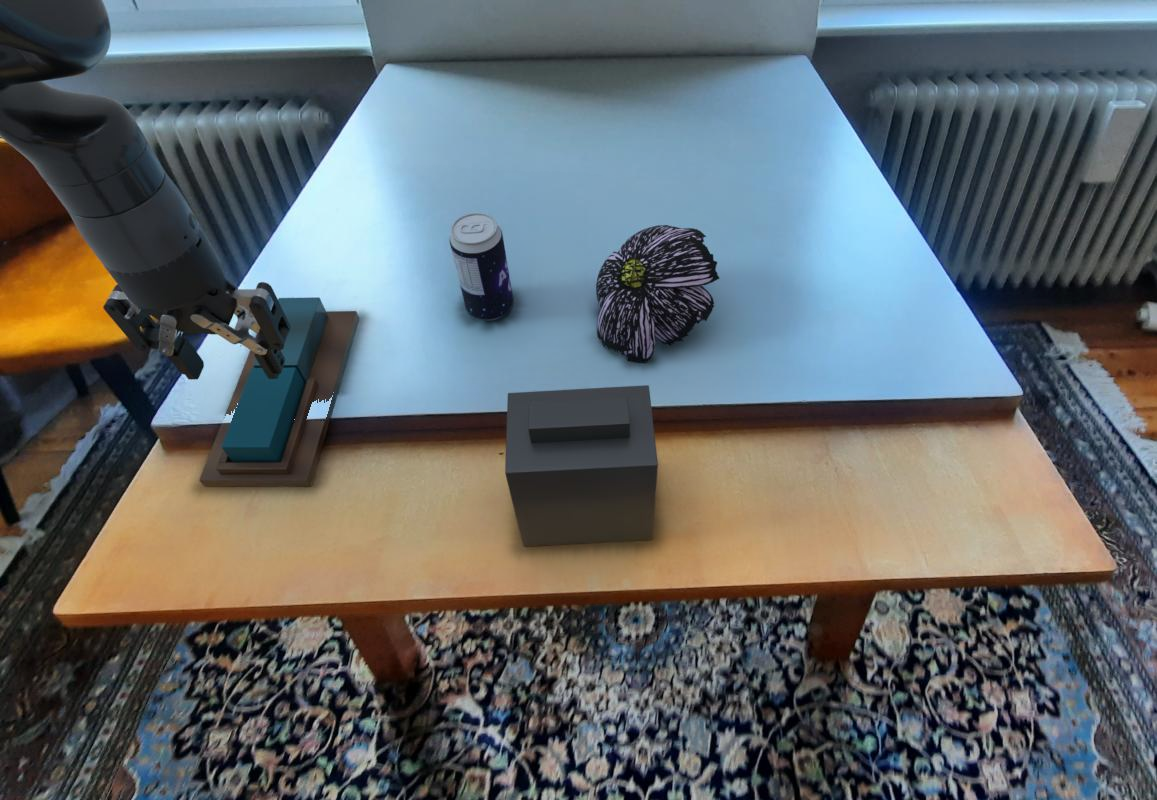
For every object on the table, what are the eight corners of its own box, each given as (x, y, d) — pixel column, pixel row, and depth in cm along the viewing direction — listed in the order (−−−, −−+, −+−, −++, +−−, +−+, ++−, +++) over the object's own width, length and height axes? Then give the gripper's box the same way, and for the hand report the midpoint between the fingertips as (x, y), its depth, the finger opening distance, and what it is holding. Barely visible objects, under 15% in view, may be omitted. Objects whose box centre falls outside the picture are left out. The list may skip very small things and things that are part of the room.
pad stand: (523, 546, 68) (501, 459, 56) (524, 472, 73) (504, 377, 61) (652, 540, 67) (659, 451, 56) (645, 466, 72) (649, 369, 60)
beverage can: (512, 324, 85) (498, 244, 75) (464, 325, 85) (443, 246, 75) (515, 290, 88) (502, 209, 79) (469, 291, 88) (450, 211, 79)
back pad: (281, 464, 73) (269, 447, 71) (234, 465, 73) (220, 447, 71) (306, 386, 79) (296, 367, 77) (263, 386, 79) (251, 367, 77)
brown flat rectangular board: (311, 486, 73) (295, 462, 69) (204, 486, 73) (183, 463, 70) (359, 317, 87) (348, 290, 83) (268, 319, 87) (254, 292, 84)
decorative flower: (554, 236, 79) (684, 180, 77) (581, 282, 90) (696, 234, 88) (595, 353, 74) (737, 296, 72) (619, 387, 85) (742, 338, 83)
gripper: (35, 271, 54) (149, 404, 68) (222, 268, 54) (301, 403, 67) (79, 207, 59) (178, 343, 72) (252, 203, 58) (320, 341, 71)
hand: (237, 372), depth 69 cm, fingers open, 7 cm apart
